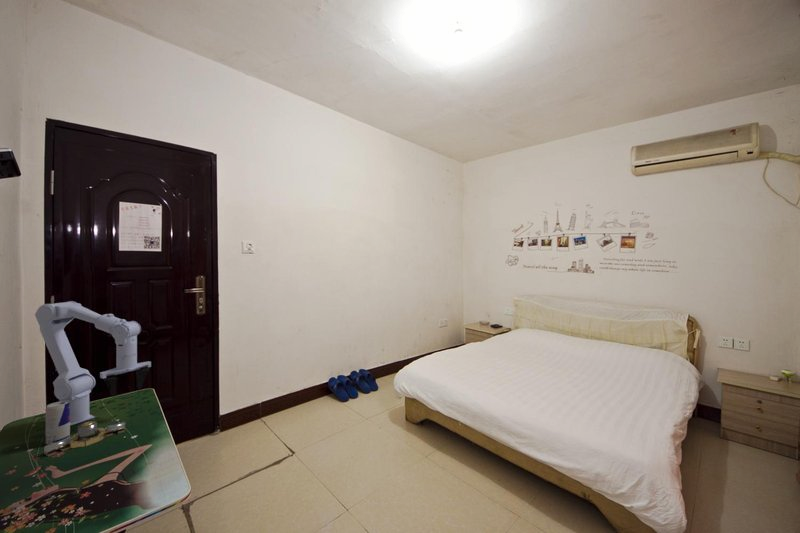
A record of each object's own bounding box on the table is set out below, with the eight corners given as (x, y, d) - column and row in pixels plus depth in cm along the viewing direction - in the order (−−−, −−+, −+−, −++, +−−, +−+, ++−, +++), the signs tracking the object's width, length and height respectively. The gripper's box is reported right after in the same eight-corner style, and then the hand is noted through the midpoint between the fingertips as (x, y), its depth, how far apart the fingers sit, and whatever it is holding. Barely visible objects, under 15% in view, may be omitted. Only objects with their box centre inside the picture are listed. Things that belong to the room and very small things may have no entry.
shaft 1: (66, 445, 99) (66, 436, 99) (70, 448, 97) (70, 439, 97) (43, 453, 94) (43, 444, 94) (47, 456, 93) (47, 447, 93)
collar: (62, 443, 100) (62, 438, 100) (99, 430, 108) (99, 425, 108) (73, 450, 96) (73, 445, 96) (110, 436, 104) (110, 432, 104)
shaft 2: (105, 437, 104) (105, 429, 104) (105, 433, 106) (105, 425, 106) (125, 431, 107) (125, 423, 107) (124, 427, 110) (124, 420, 110)
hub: (75, 441, 101) (75, 425, 101) (93, 434, 105) (93, 418, 105) (80, 445, 99) (80, 428, 99) (99, 438, 103) (99, 422, 103)
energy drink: (74, 436, 104) (74, 400, 104) (55, 445, 99) (55, 407, 99) (60, 435, 105) (60, 399, 105) (40, 444, 99) (40, 407, 99)
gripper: (106, 361, 107) (106, 401, 107) (155, 351, 120) (155, 386, 120) (97, 359, 110) (97, 397, 110) (145, 349, 123) (145, 383, 123)
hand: (126, 391), depth 115 cm, fingers open, 7 cm apart
